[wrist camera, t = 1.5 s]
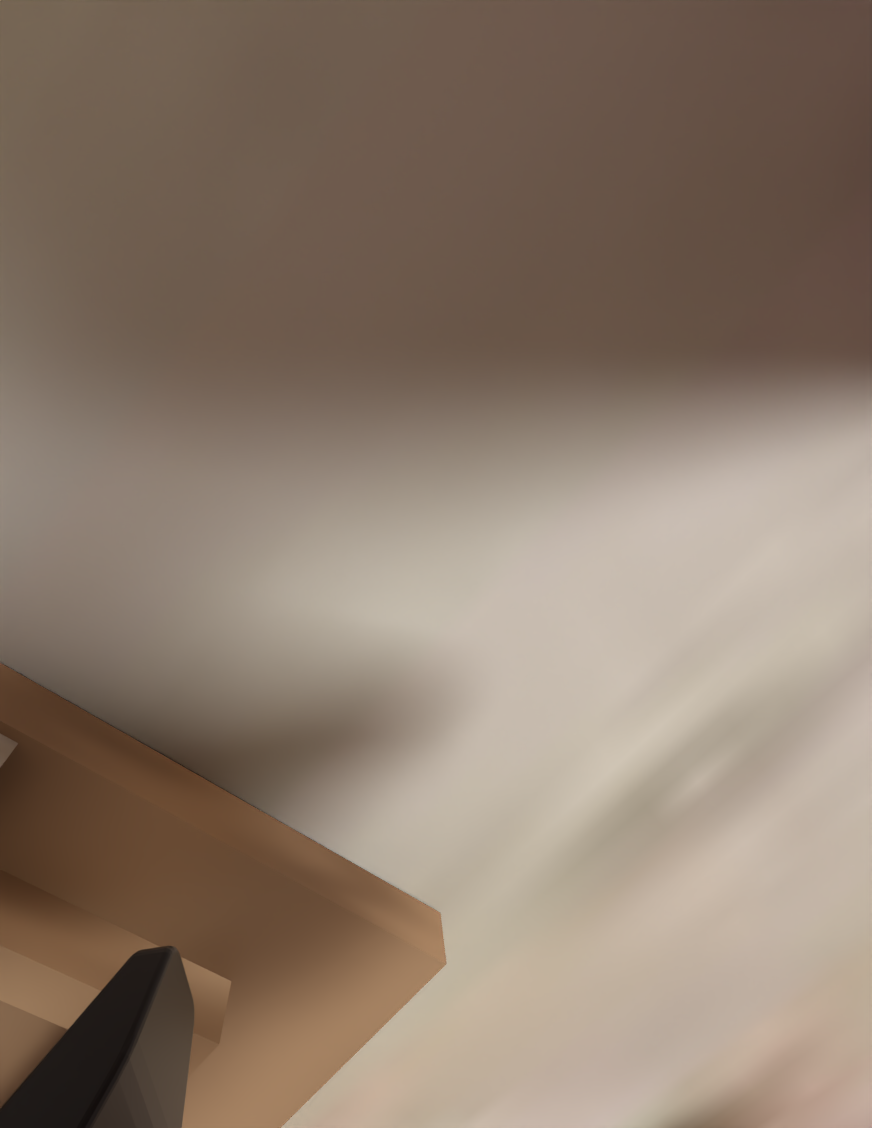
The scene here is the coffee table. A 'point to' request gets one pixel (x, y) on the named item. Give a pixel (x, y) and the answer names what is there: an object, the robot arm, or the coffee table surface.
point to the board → (187, 915)
